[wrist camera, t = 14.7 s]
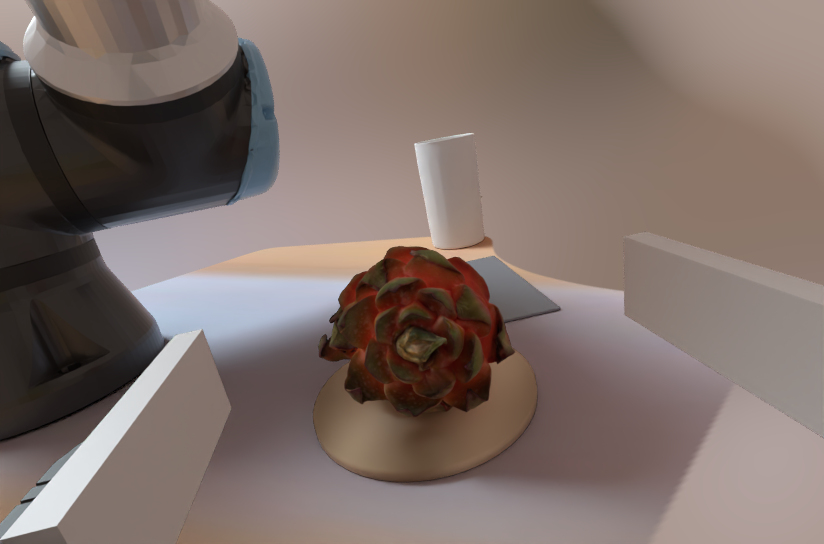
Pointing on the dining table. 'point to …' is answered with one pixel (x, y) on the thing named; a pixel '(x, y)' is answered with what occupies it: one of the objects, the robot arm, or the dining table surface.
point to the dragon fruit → (418, 333)
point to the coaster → (424, 428)
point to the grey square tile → (511, 291)
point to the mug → (451, 190)
